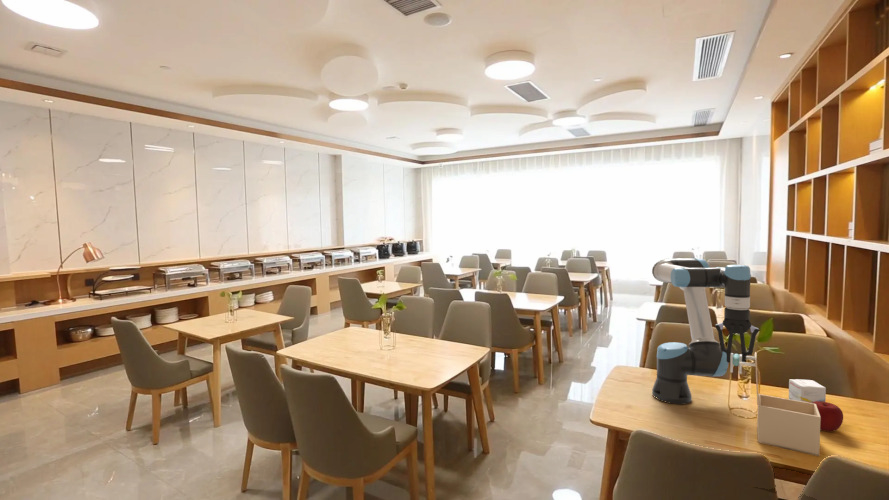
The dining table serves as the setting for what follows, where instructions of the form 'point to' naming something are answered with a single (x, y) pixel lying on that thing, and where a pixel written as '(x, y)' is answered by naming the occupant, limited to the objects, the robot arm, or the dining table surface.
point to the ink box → (806, 391)
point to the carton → (789, 424)
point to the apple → (829, 416)
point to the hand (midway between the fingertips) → (736, 372)
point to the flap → (737, 363)
